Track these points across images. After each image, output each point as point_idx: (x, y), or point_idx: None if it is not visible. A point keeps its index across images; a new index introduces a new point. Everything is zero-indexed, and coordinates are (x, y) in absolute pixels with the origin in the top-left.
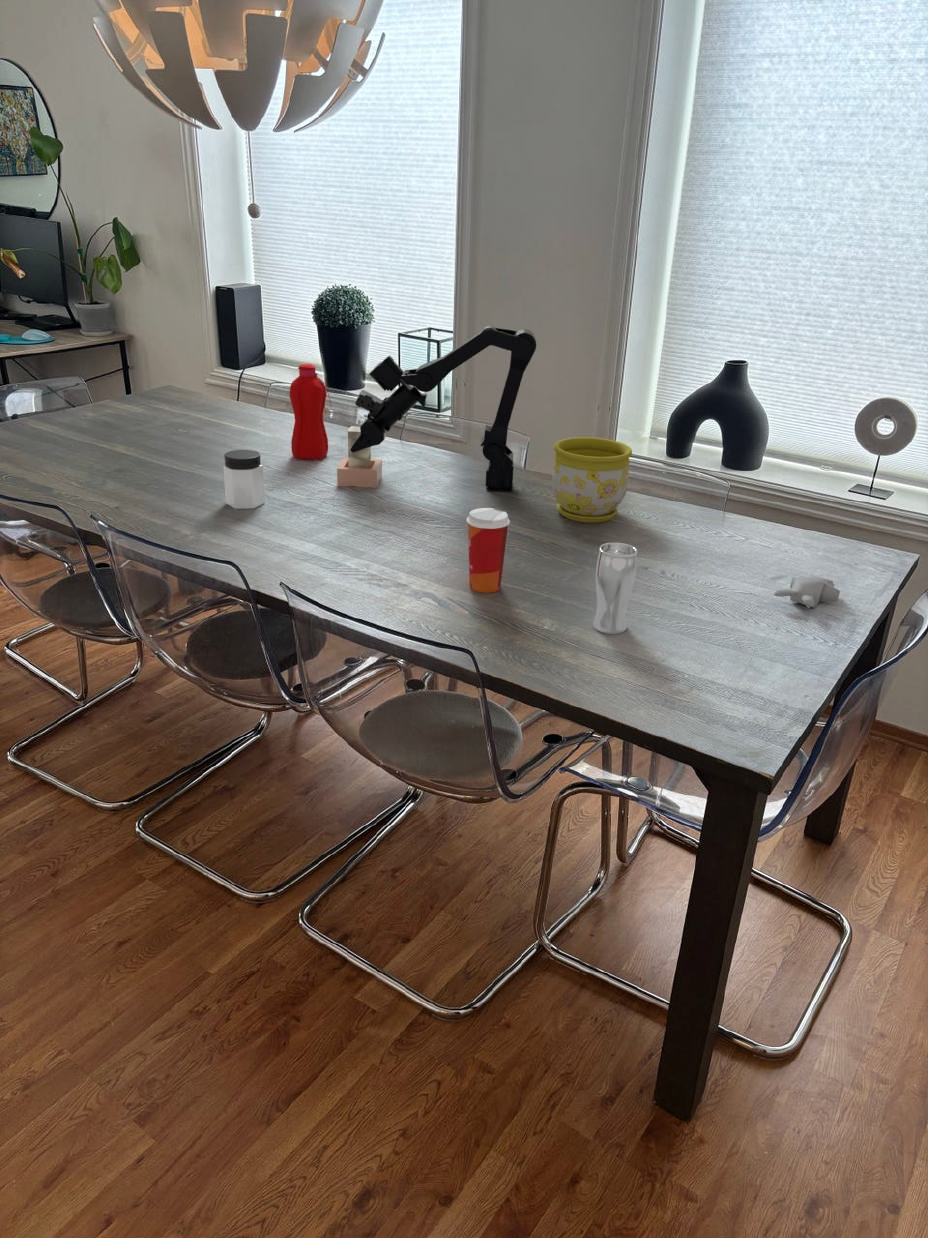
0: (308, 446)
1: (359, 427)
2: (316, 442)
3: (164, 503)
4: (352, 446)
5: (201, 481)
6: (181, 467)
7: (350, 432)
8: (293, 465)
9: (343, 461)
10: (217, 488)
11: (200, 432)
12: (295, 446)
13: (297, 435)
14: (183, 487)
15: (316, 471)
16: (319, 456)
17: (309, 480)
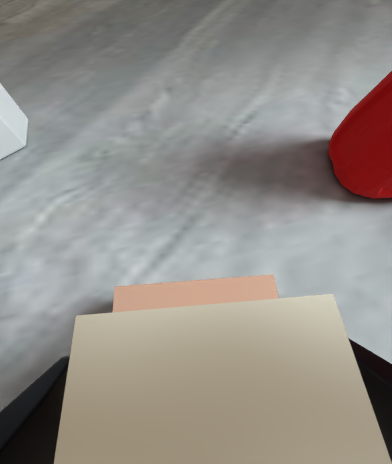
0: (358, 144)
1: (335, 453)
2: (380, 152)
3: (13, 53)
4: (28, 388)
5: (131, 62)
6: (199, 32)
7: (80, 353)
8: (280, 154)
9: (221, 287)
10: (93, 86)
11: (384, 13)
12: (344, 120)
13: (372, 93)
14: (96, 53)
15: (254, 209)
16: (353, 188)
17: (172, 212)
